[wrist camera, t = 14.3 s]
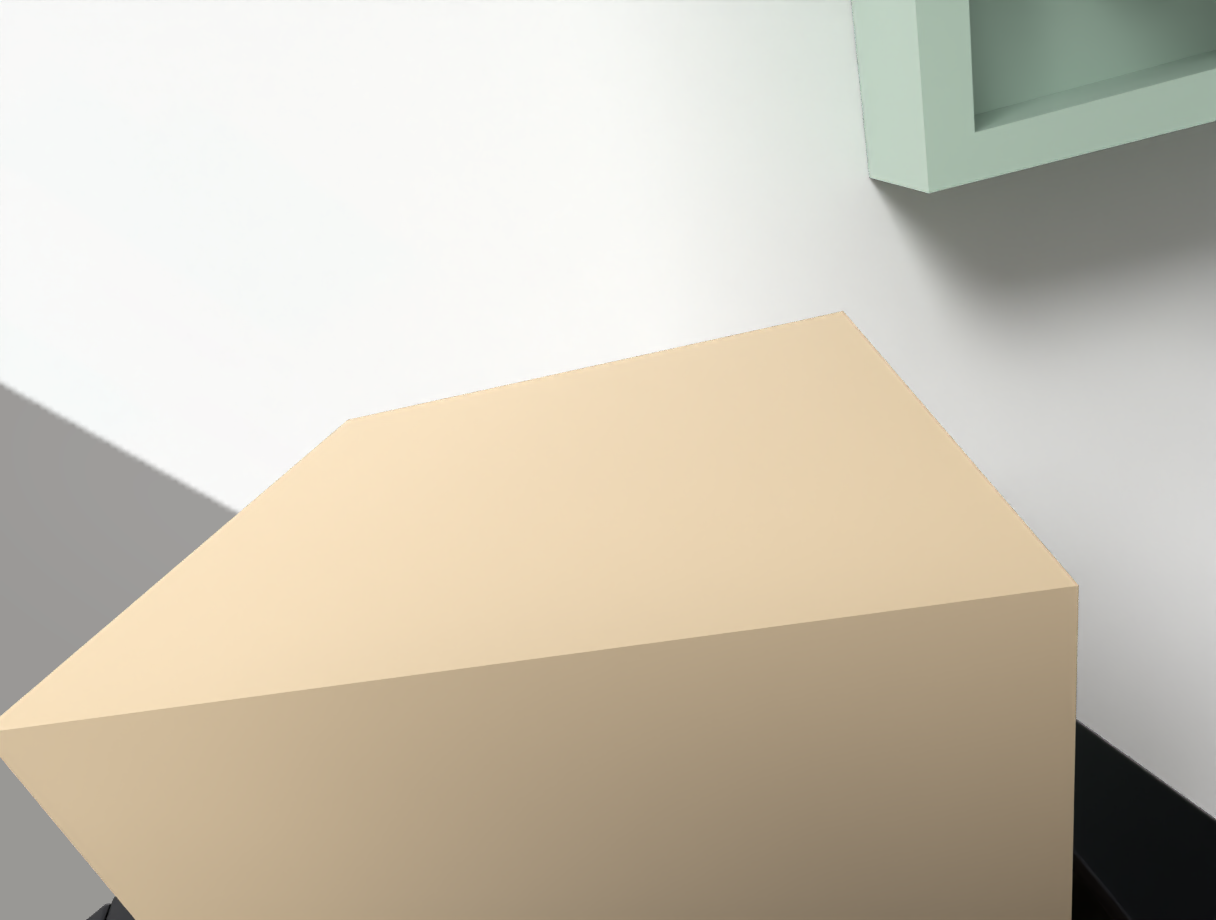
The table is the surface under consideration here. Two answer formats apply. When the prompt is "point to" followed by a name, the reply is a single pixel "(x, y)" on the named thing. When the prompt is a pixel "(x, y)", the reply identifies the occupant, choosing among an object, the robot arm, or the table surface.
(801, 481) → the tan rectangular block
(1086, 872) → the robot arm
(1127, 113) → the tote
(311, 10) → the table surface
